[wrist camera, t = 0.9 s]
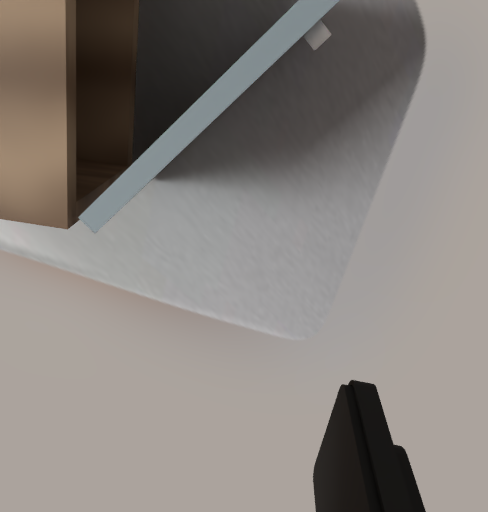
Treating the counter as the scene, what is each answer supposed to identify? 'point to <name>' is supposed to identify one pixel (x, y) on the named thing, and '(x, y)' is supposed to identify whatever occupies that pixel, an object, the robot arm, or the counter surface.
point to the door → (213, 105)
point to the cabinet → (64, 105)
